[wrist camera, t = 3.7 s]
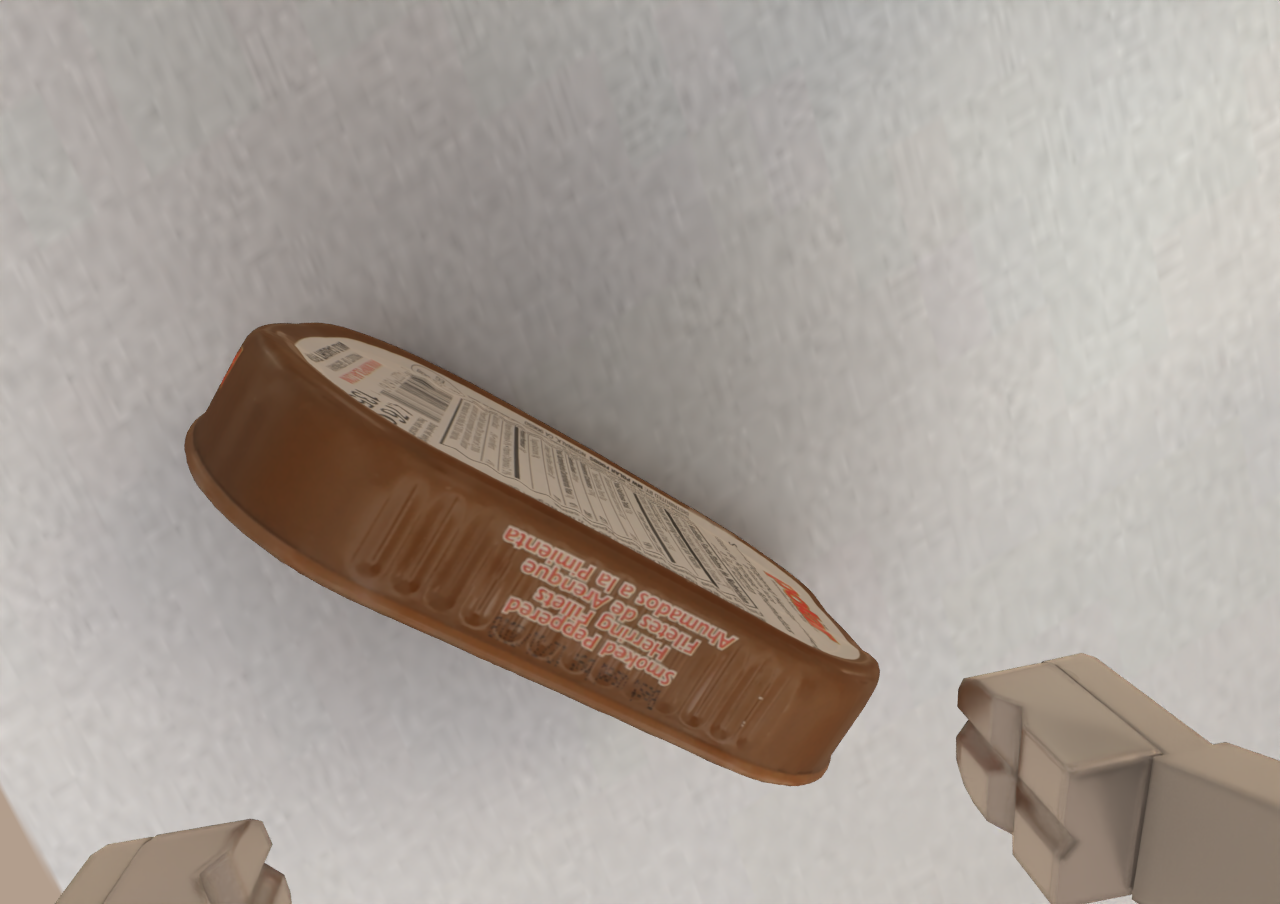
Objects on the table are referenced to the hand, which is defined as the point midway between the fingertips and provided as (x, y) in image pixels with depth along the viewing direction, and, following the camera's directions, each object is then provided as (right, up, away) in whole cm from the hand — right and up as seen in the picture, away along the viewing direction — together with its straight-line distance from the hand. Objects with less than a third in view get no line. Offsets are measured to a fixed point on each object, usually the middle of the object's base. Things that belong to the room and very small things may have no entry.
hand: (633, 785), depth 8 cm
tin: (-2, +3, +11) cm, 12 cm away
